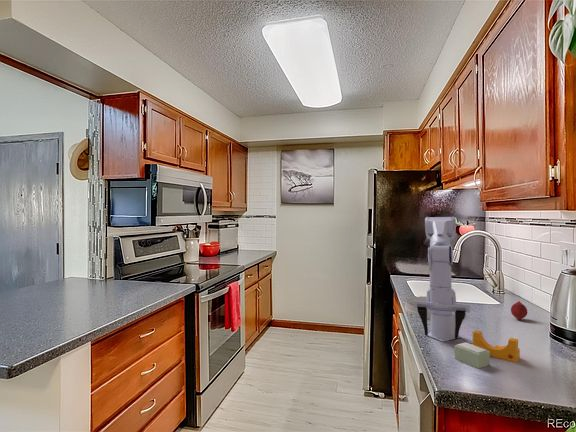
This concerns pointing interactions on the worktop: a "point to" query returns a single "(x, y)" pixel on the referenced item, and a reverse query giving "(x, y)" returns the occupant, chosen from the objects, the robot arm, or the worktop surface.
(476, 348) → the pale green block
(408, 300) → the dish
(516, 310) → the onion
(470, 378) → the worktop surface
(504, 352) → the pipe clamp
